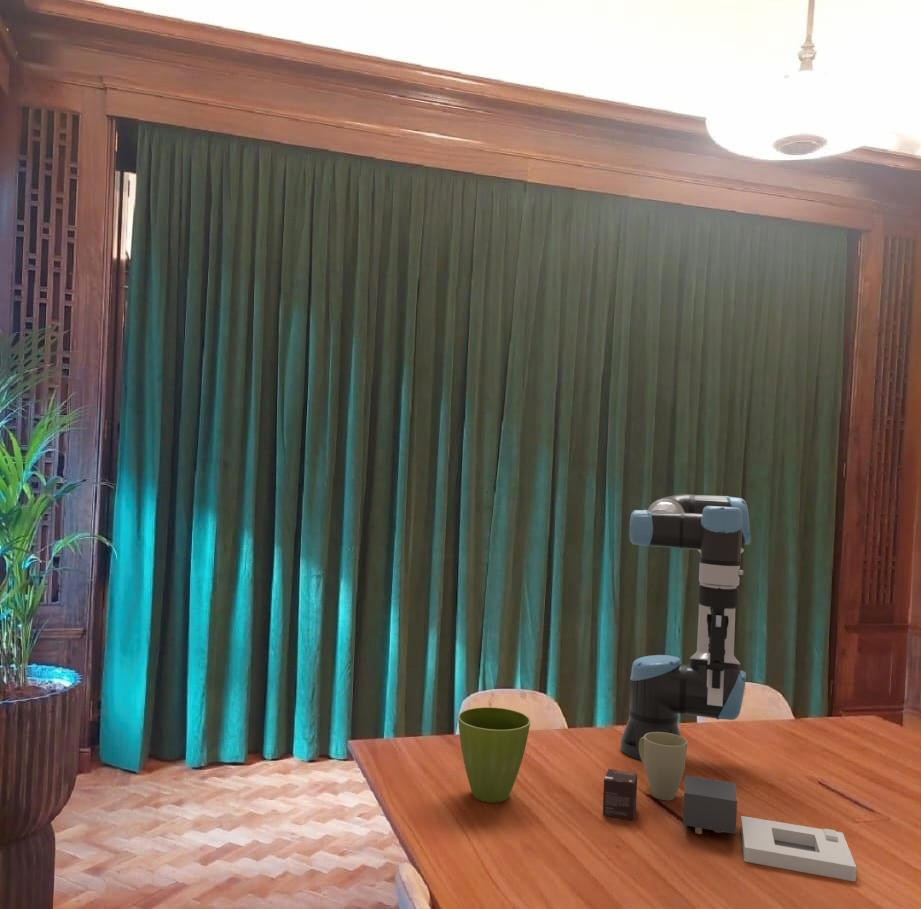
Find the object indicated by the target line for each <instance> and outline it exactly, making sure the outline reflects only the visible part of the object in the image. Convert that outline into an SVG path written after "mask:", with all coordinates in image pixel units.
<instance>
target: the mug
mask: <svg viewBox="0 0 921 909" xmlns="http://www.w3.org/2000/svg"><path fill="white" fill-rule="evenodd" d="M687 751H688V740H687V739H686V738H684V737H683V736H678V735H675V734H671V733H665V732H651V733H647V734H645V735H644V737H642V738H641V739H640V741H639V754H640V758H641V760H640V761H641V762H642V765H643V767H644V768H645V775H646V778H647V783H648V786H649V790H650V793H651V796H652V797H653V798H655V799H658V800H660V799H661V801H672V800H674V799H675V798H676V796H677V793H678V790H679V787H680V784H681V782H682V780H683V777H684V773H685V766H686V759H687Z"/></svg>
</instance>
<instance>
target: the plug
mask: <svg viewBox="0 0 921 909" xmlns="http://www.w3.org/2000/svg"><path fill="white" fill-rule="evenodd" d="M683 789H684V790H683V806H682V807H683V809H682V810H683V811H682V825H683V826H688V827H693V828H695V830H694V831H695V832H694V833H695V834H698V835H702V834H703V829H704V830H711V831H714V833H718V834H722V832H723V833H728V834H732V835H733V834H734V835H737V834H736V833H737V817H738V816H737V812H738V798H737V796H738V795H737V788H736V782H731V781H723V780H718V779H710V778H705V777H699V776H691V775H687V774H686V775H684V787H683Z"/></svg>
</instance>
